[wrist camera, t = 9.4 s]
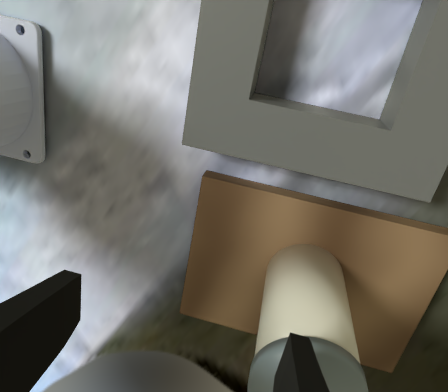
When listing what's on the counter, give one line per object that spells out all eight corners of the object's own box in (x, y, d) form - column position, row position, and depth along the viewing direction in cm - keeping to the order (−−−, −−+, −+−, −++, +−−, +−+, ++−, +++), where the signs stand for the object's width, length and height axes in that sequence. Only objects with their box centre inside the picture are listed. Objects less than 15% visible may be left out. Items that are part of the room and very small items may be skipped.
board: (183, 303, 25) (179, 313, 24) (206, 170, 21) (202, 176, 20) (388, 360, 24) (391, 373, 23) (456, 230, 19) (463, 239, 19)
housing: (194, 132, 20) (181, 144, 18) (236, -144, 15) (225, -177, 13) (414, 183, 19) (429, 202, 17) (537, -98, 14) (584, -126, 12)
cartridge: (258, 297, 22) (238, 418, 15) (273, 234, 20) (259, 338, 13) (332, 316, 22) (348, 450, 15) (355, 253, 20) (387, 372, 13)
